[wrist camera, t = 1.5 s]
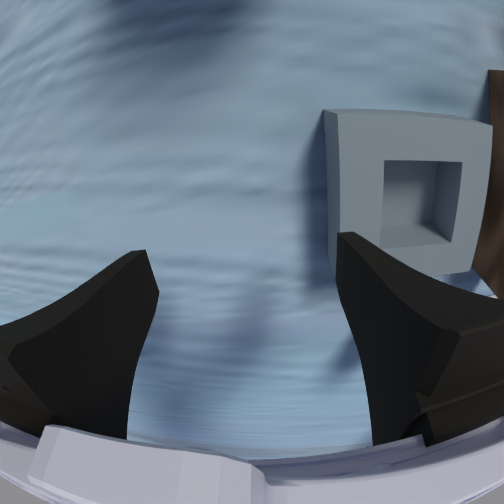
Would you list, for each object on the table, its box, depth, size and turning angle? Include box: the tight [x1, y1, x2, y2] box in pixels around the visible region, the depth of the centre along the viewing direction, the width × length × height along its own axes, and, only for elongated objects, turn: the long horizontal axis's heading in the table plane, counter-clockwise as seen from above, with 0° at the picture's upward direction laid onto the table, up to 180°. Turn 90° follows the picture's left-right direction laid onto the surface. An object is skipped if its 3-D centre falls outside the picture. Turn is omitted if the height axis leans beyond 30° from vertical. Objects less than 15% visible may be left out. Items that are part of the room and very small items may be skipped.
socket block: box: [323, 109, 493, 281], centre depth 17 cm, size 10×10×4 cm
